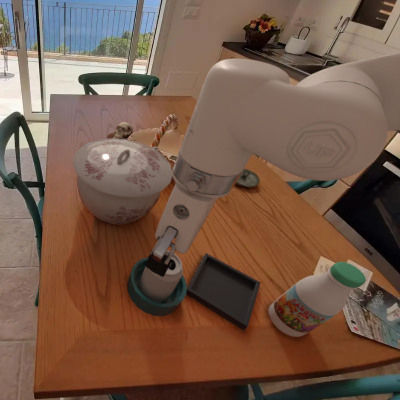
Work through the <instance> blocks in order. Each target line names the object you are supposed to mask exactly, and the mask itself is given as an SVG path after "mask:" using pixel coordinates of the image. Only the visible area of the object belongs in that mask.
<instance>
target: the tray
mask: <svg viewBox="0 0 400 400" xmlns="http://www.w3.org/2000/svg"><path fill="white" fill-rule="evenodd" d="M261 283H262V282H261V281H259V280H258V279H255V278H254V277H251V276H250V275H248V274H246V273H244V272H242V271H241V270H239V269H237V268H234V267H233V266H231V265H229V264H227V263H226V262H224V261H222V260H220V259H218V258H216V257H214V256H212V255H211V254H209V253H207V252H205V254H204V255H203V256H202V258H201V260H200V262H199V264H198V266H197V267H196V269H195V272H194V274H193V276H192V278H191V280H190V281H189V284H188V285H187V292H186V295H185V296H187V297H188V298H191V299H192V300H194V301H195V302H196V303H198V304H200V305H202V306H203V307H205V308H206V309H208V310H210V311H211V312H213V313H215V314H216V315H217V316H219V317H221V318H222V319H224V320H225V321H227V322H229V323H230V324H232V325H233V326H235V327H237V328H238V329H240V330H241V331H245V330H246V329H247V328H248V327H249V325H250V321H251V317H252V313H253V310H254V308H255V304H256V301H257V298H258V297H257V296H258V293H259V290H260V286H261Z"/></svg>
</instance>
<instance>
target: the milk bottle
mask: <svg viewBox="0 0 400 400" xmlns="http://www.w3.org/2000/svg"><path fill="white" fill-rule="evenodd" d="M366 281H367V278H366V276H365V274H364V273H363V271H361V270H360V269H359V268H358V267H357V266H355V265H353V264H351V263H350V262H346V261H338V262H335V263H334V264H333V265H332V266H330V267H328V269H327V271H325V272H323V273H318V274H313V275H309V276H308V275H307V276H306V277H304V278H302V279H300V280H299V281H297V282H296V283H295V284H293V285H292V286H291V287H289V288H288V289H287V290H286V291H285V292H284V293H282V295H280V296H279V297H278V298H276V300H274V302H272V303H271V304H270V305H269V306H268V316H269V319H270V321H271V323H272V324H273V325H274V326H275V327H276V328H277V329H278V330H279V331H280V332H282V333H283V334H285V335H287V336H289V337H295V338H296V337H297V338H299V337H303V336H305V335H306V334H308V333H310V332H311V331H313V330H314V329H316V328H318V327H320V326H321V325H323V324H324V323H326V322H328V321H329V320H330V319H332V318H334V317H335V316H336V315H338V314H339V313H340V312H341V311H343V309H344V308H345V307H346V304H347V302H348V298H349V295H350V293H351V291H354V290H355V291H356V290H357V289H359V288H360V287H361V286H363V285H364V284H365V283H366Z"/></svg>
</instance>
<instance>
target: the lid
mask: <svg viewBox="0 0 400 400" xmlns="http://www.w3.org/2000/svg"><path fill="white" fill-rule="evenodd" d="M260 181H261V179H260V176H259V175H258V174H257V173H256V172H254V171H252V170H251V169H248V168H246V167H245V168H244V169H243V171H242V173H241V175H240V176H239V178H238V180H237V182H236V183H235V186H236V185H237V186H239V187H243V188H249V189H250V188H255V187H257V186H258V185H259V184H260Z"/></svg>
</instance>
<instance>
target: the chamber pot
mask: <svg viewBox="0 0 400 400" xmlns="http://www.w3.org/2000/svg"><path fill="white" fill-rule="evenodd" d="M72 167H73V168H74V171H75V174H76V175H77V178H76V179H77V180H76V187H77V192H78V197H79V199H80V202H81V203H82V205H83V206H84V207H85V209H87V211H88V212H89V213H90V214H91V215H92V216H93V217H94V218H96V219H98V220H99V221H101V222H104V223H107V224H110V225H118V226H119V225H120V226H121V225H127V224H131V223H133V222H135V221H136V222H137V221H138V220H139V219H142V218H144V217H145V216H147V215H148V214H149V213H150V212H151V211H152V210H153V209H154V207H155V206H156V204H157V203H158V201H159V199H160V196H161V193H162V192H163V191H164V190H165V189H166V188H167V187H168V186H169V185H170V183H171V182H172V179H173V177H172V170H173V168H172V166H171V163H170V162H169V160H167V158H166V157H165V156H164V155H163V153H161V150H160V148H159V147H157V146H155V145H154V146H153V147H152V146H149V145H147V144H145V143H142V142H141V141H136V140H135V141H132V140H128V139H117V138H110V139H108V138H100V139H96V140H93V141H90V142H88V143H86V144H84V145H83V146H81V147H79V149H78V150H77V151H76V152H75V153H74V155H73V161H72Z"/></svg>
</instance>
